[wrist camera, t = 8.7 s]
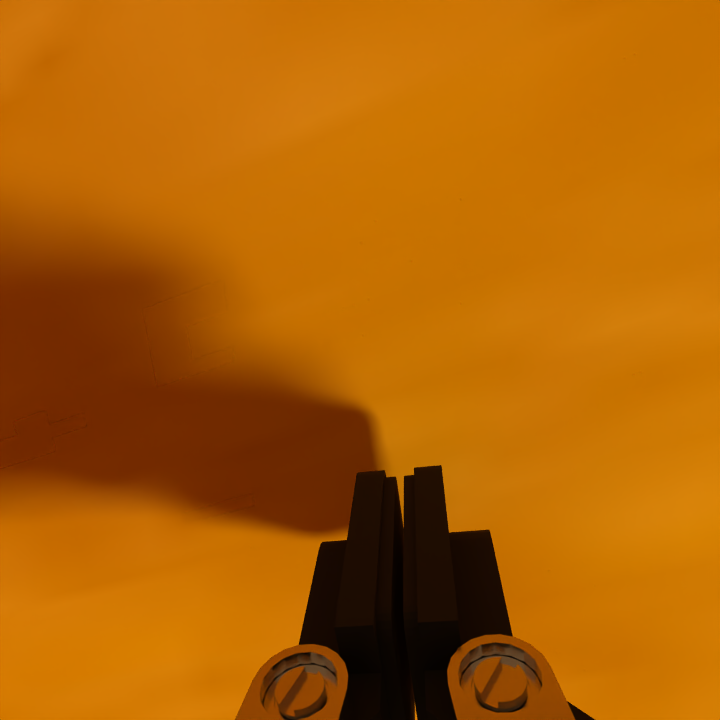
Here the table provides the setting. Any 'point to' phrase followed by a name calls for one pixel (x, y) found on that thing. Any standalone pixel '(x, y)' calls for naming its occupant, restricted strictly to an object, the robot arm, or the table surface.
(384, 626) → the robot arm
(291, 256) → the table surface
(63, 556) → the table surface
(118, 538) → the table surface
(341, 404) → the table surface
